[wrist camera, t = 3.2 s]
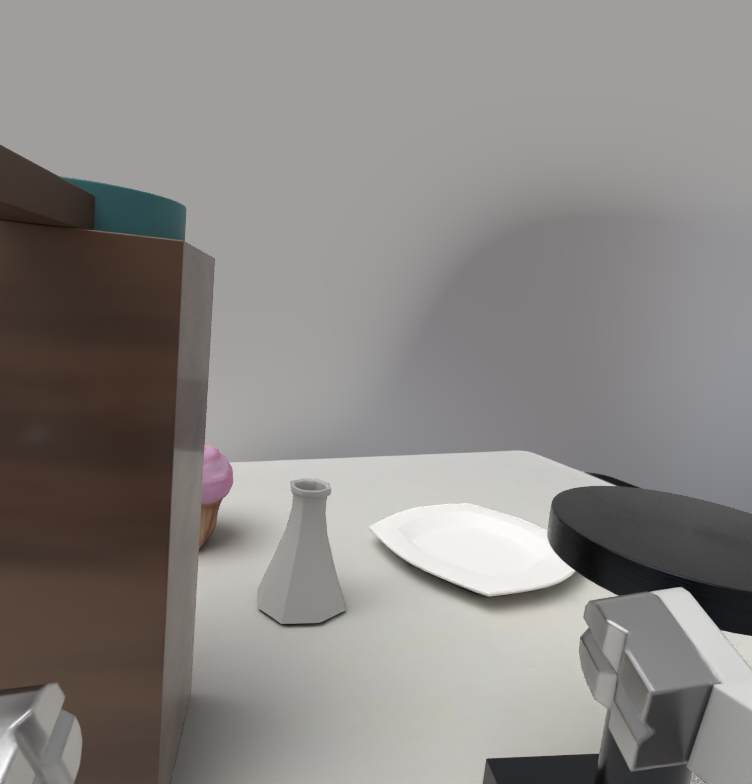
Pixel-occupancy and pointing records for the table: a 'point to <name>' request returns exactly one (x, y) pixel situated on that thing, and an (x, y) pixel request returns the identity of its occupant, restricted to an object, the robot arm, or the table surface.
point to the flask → (303, 563)
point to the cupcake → (213, 489)
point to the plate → (474, 548)
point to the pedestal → (103, 482)
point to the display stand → (642, 574)
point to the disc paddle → (83, 202)
